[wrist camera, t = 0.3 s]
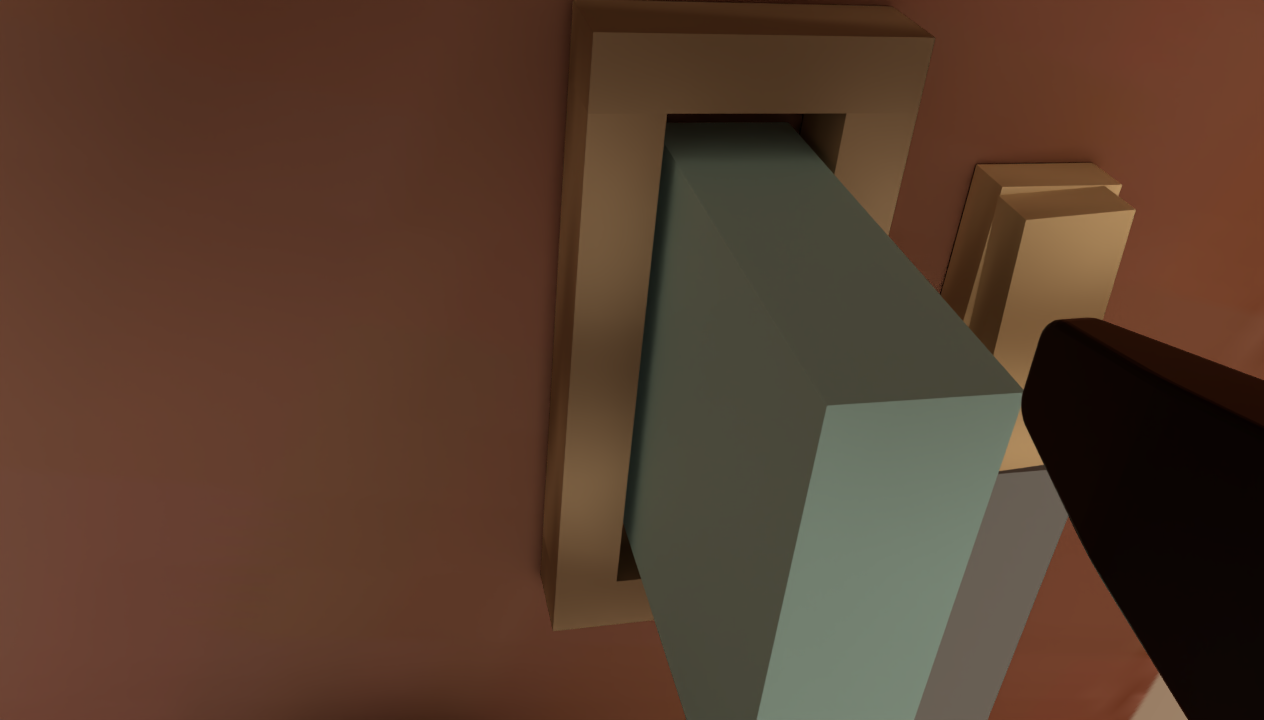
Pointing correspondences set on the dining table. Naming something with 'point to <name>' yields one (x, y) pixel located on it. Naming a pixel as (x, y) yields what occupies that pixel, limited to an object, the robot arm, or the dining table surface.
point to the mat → (995, 595)
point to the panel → (800, 439)
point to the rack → (626, 213)
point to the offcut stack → (1034, 262)
